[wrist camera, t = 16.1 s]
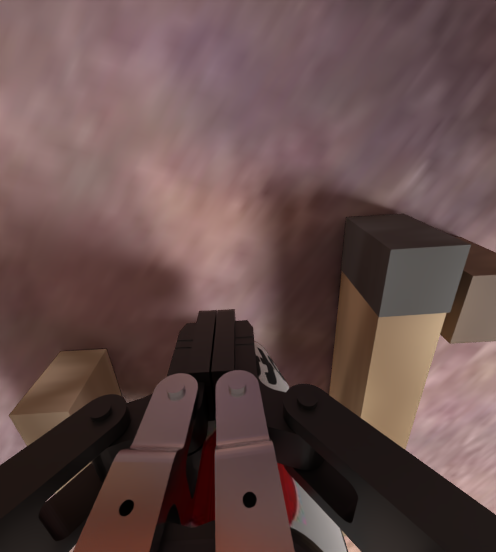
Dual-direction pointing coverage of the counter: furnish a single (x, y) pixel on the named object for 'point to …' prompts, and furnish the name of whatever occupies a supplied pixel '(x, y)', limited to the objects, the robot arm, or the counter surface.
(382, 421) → the leg
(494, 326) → the jointed wooden sticks
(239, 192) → the counter surface
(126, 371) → the counter surface
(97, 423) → the robot arm
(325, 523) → the cup
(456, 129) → the counter surface
